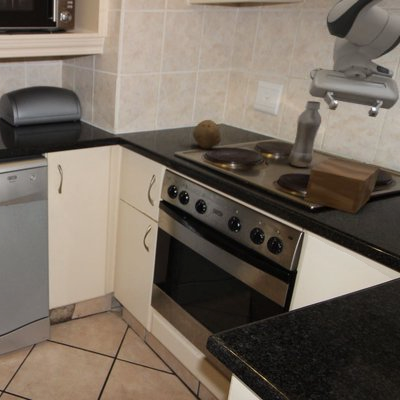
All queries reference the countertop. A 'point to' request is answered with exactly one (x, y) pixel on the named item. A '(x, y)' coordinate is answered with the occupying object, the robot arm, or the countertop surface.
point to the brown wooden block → (361, 164)
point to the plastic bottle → (306, 135)
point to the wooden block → (341, 184)
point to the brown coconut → (207, 134)
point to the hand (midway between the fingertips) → (353, 111)
